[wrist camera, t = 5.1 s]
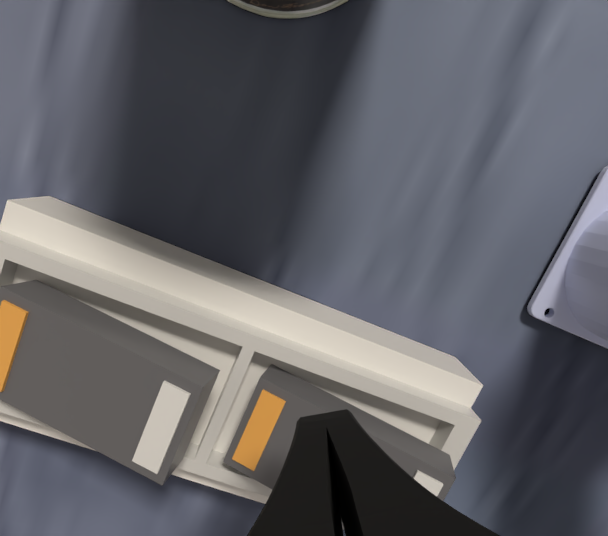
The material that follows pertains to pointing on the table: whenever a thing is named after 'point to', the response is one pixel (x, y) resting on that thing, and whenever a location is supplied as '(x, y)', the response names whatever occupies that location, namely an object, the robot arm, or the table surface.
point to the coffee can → (287, 7)
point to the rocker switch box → (232, 335)
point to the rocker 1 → (99, 379)
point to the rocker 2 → (310, 401)
